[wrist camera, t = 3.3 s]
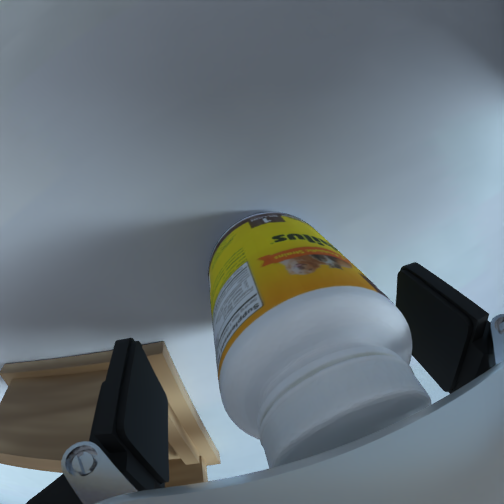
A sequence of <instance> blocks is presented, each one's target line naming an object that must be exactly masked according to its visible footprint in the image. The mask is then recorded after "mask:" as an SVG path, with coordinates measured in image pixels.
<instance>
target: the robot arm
mask: <svg viewBox="0 0 504 504" xmlns="http://www.w3.org/2000/svg"><path fill="white" fill-rule="evenodd" d="M396 307H397V308H398V309H399V310H400V312H401V313H402V314H403V316H404V318H405V319H406V321H407V323H408V325H409V328H410V332H411V337H412V355H413V357H414V358H415V359H416V360H417V361H418V362H419V363H420V364H421V365H422V367H423V368H424V369H425V370H426V371H427V372H428V373H429V374H430V376H431V377H432V378H433V379H434V380H435V381H436V382H437V384H438V385H439V386H440V387H441V388H442V389H443V390H444V391H445V392H449V393H450V394H449V395H448V396H446V397H444V398H443V399H441V400H439V401H437V402H436V403H434V404H432V405H430V406H428V407H426V408H425V409H423V410H421V411H419V412H417V413H415V414H413V415H411V416H409V417H407V418H405V419H403V420H401V421H399V422H397V423H395V424H393V425H390V426H388V427H386V428H384V429H382V430H379V431H377V432H375V433H373V434H370V435H368V436H365V437H363V438H361V439H358V440H356V441H353V442H351V443H348V444H345V445H343V446H340V447H337V448H335V449H332V450H329V451H326V452H323V453H320V454H317V455H314V456H311V457H308V458H305V459H302V460H299V461H295V462H292V463H288V464H285V465H281V466H278V467H274V468H270V469H266V470H262V471H258V472H254V473H249V474H245V475H240V476H235V477H230V478H225V479H219V480H214V481H208V482H202V483H196V484H189V485H182V486H173V487H166V488H165V483H166V482H169V451H168V399H167V396H166V393H165V391H164V389H163V388H162V386H161V384H160V382H159V380H158V378H157V376H156V374H155V372H154V370H153V368H152V366H151V364H150V362H149V360H148V358H147V356H146V354H145V352H144V350H143V348H142V345H141V344H140V342H139V341H134V339H133V338H127V339H122V340H117V341H116V342H115V345H114V349H113V352H112V356H111V360H110V364H109V368H108V371H107V375H106V379H105V381H104V382H102V385H101V388H100V392H99V396H98V401H97V405H96V409H95V414H94V418H93V423H92V428H91V433H90V438H89V442H87V441H83V442H78V443H76V444H74V445H72V446H71V447H70V448H68V449H67V450H66V452H65V453H64V455H63V457H62V460H61V468H62V471H63V474H62V475H61V476H60V477H59V478H57V479H56V480H55V481H54V482H52V483H51V484H50V485H48V486H47V487H46V488H45V489H43V490H42V491H41V492H39V493H38V494H37V495H36V496H34V497H33V498H32V499H30V500H29V501H28V502H27V503H26V504H504V314H500V315H497V316H495V317H494V318H493V319H492V321H491V323H490V322H489V321H488V316H489V314H488V313H487V312H486V311H484V310H483V309H482V308H480V307H479V306H478V305H476V304H475V303H474V302H472V301H471V300H470V299H468V298H467V297H465V296H464V295H463V294H461V293H460V292H459V291H457V290H456V289H454V288H453V287H452V286H450V285H449V284H447V283H446V282H444V281H443V280H442V279H440V278H439V277H437V276H436V275H434V274H433V273H431V272H430V271H428V270H427V269H425V268H424V267H423V266H421V265H420V264H418V263H416V262H415V263H411V264H408V265H405V266H403V267H401V270H400V272H399V273H398V277H397V295H396Z"/></svg>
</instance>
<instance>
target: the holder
mask: <svg viewBox="0 0 504 504" xmlns="http://www.w3.org/2000/svg"><path fill="white" fill-rule="evenodd" d="M142 348H143V350H144V352H145V354H146V356H147V358H148V360H149V362H150V364H151V366H152V368H153V370H154V372H155V374H156V376H157V378H158V380H159V382H160V384H161V386H162V388H163V389H164V391H165V393H166V396H167V399H168V451H169V482H166V483H165V488H166V487H173V486H182V485H189V484H196V483H202V482H208V478H207V468H206V466H208V465H215V464H221V463H220V456H219V452H218V450H217V449H216V447H215V445H214V443H213V441H212V440H211V438H210V436H209V434H208V432H207V430H206V429H205V427H204V425H203V423H202V421H201V419H200V417H199V415H198V413H197V411H196V409H195V407H194V405H193V403H192V401H191V399H190V397H189V395H188V393H187V391H186V389H185V387H184V385H183V383H182V381H181V379H180V377H179V374H178V372H177V370H176V368H175V366H174V363H173V361H172V359H171V357H170V355H169V352H168V350H167V348H166V345H165V343H164V341H162V342H157V343H151V344H146V345H142ZM112 352H113V350H111V351H105V352H98V353H92V354H85V355H78V356H71V357H63V358H56V359H47V360H39V361H30V362H20V363H10V364H4V366H3V368H2V370H1V371H0V375H1V377H2V378H3V379H4V381H5V382H6V384H7V385H8V386H9V387H8V389H7V391H6V393H5V395H4V397H3V399H2V401H1V403H0V463H1V464H6V465H11V466H16V467H22V468H28V469H35V470H42V471H50V472H60V473H63V471H62V468H61V460H62V457H63V455H64V453H65V452H66V450H67V449H68V448H70V447H71V446H72V445H74V444H76V443H78V442H83V441H87V442H89V438H90V433H91V428H92V423H93V418H94V414H95V409H96V405H97V401H98V396H99V392H100V388H101V385H102V382H104V381H105V379H106V375H107V371H108V368H109V364H110V360H111V356H112Z"/></svg>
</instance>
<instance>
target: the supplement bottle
mask: <svg viewBox="0 0 504 504" xmlns="http://www.w3.org/2000/svg"><path fill="white" fill-rule="evenodd" d="M208 276H209V289H210V300H211V313H212V323H213V332H214V343H215V352H216V363H217V371H218V380H219V389H220V394H221V398H222V402H223V405H224V408H225V410H226V412H227V414H228V415H229V417H230V418H231V420H232V421H233V422H234V423H235V424H236V425H237V426H238V427H239V428H240V429H241V430H243V431H244V432H245V433H247V434H249V435H251V436H253V437H255V438H257V439H260V442H261V445H262V446H263V448H264V450H265V454H266V457H267V461H268V465H269V469H270V468H274V467H278V466H281V465H285V464H288V463H292V462H295V461H299V460H302V459H305V458H308V457H311V456H314V455H317V454H320V453H323V452H326V451H329V450H332V449H335V448H337V447H340V446H343V445H345V444H348V443H351V442H353V441H356V440H358V439H361V438H363V437H365V436H368V435H370V434H373V433H375V432H377V431H379V430H382V429H384V428H386V427H388V426H390V425H393V424H395V423H397V422H399V421H401V420H403V419H405V418H407V417H409V416H411V415H413V414H415V413H417V412H419V411H421V410H423V409H425V408H426V407H428V406H430V405H432V404H431V399H430V397H429V395H428V393H427V392H426V391H425V389H424V388H423V387H422V385H421V384H420V382H419V381H418V380H417V378H416V377H415V376H414V373H413V371H412V369H411V367H410V366H409V364H410V361H411V355H412V337H411V332H410V328H409V325H408V323H407V321H406V319H405V318H404V316H403V314H402V313H401V312H400V310H399V309H398V308H397V307H396V306H395V305H394V304H393V302H392V301H391V300H390V299H389V298H388V297H387V296H386V295H385V294H384V293H382V292H381V291H380V290H379V289H378V288H377V287H376V286H375V285H374V284H373V283H372V282H371V281H370V280H369V279H368V278H367V277H366V276H365V275H364V274H363V273H362V272H361V271H360V270H359V269H358V268H357V267H355V266H354V265H353V264H352V263H351V262H350V261H349V260H348V259H347V258H346V257H344V256H343V255H342V254H341V253H340V252H339V251H338V250H337V249H336V248H335V247H334V246H333V245H331V244H330V243H329V242H328V241H327V240H326V239H325V238H324V237H323V236H322V235H321V234H319V233H318V232H317V231H316V230H315V229H314V228H313V227H311V226H310V225H309V224H308V223H306V222H305V221H303V220H301V219H300V218H297V217H295V216H292V215H289V214H285V213H279V212H266V213H259V214H255V215H251V216H249V217H246V218H244V219H242V220H240V221H239V222H237V223H236V224H234V225H233V226H232V227H230V228H229V229H228V230H227V231H226V232H225V233H224V234H223V235H222V237H221V238H220V239H219V241H218V242H217V244H216V246H215V248H214V250H213V253H212V255H211V259H210V263H209V273H208Z"/></svg>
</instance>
